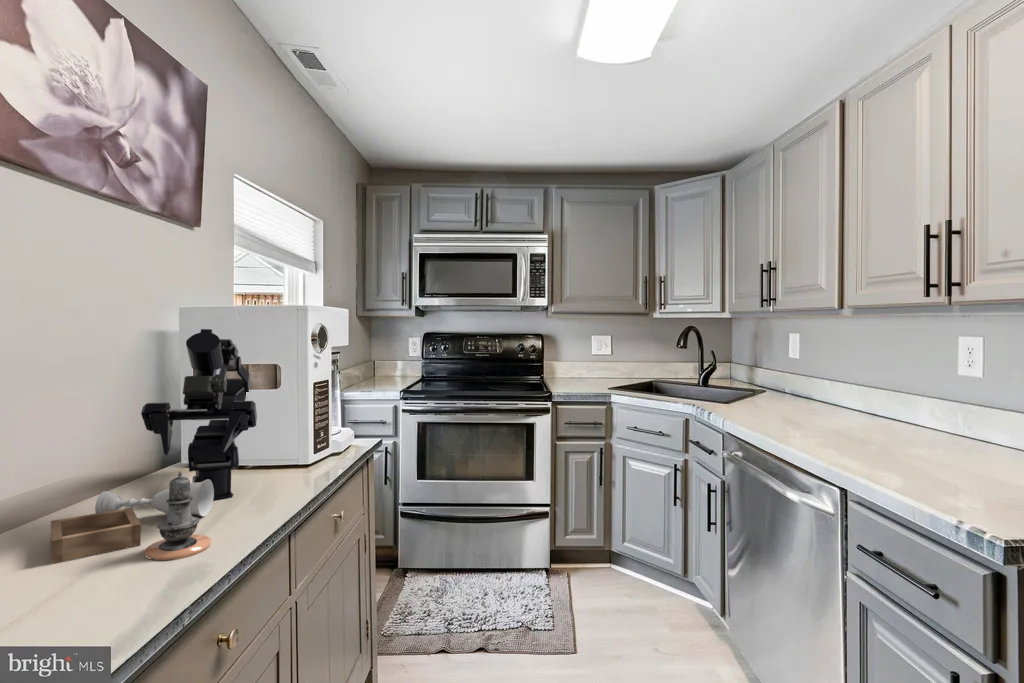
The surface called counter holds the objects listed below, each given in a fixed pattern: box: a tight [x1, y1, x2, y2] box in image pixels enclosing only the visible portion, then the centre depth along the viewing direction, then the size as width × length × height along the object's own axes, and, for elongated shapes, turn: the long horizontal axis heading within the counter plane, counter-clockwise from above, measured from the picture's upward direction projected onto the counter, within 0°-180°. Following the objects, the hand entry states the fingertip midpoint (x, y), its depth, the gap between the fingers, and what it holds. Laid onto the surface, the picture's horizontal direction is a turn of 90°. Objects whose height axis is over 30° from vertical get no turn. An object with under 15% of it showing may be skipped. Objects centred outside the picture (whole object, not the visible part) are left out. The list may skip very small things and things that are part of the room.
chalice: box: [94, 479, 214, 517], centre depth 99 cm, size 7×7×18 cm
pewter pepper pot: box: [156, 471, 201, 551], centre depth 85 cm, size 6×6×12 cm
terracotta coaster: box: [144, 534, 211, 561], centre depth 85 cm, size 9×9×1 cm
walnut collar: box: [50, 507, 142, 565], centre depth 86 cm, size 11×11×4 cm
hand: (194, 452), depth 94 cm, fingers open, 9 cm apart
